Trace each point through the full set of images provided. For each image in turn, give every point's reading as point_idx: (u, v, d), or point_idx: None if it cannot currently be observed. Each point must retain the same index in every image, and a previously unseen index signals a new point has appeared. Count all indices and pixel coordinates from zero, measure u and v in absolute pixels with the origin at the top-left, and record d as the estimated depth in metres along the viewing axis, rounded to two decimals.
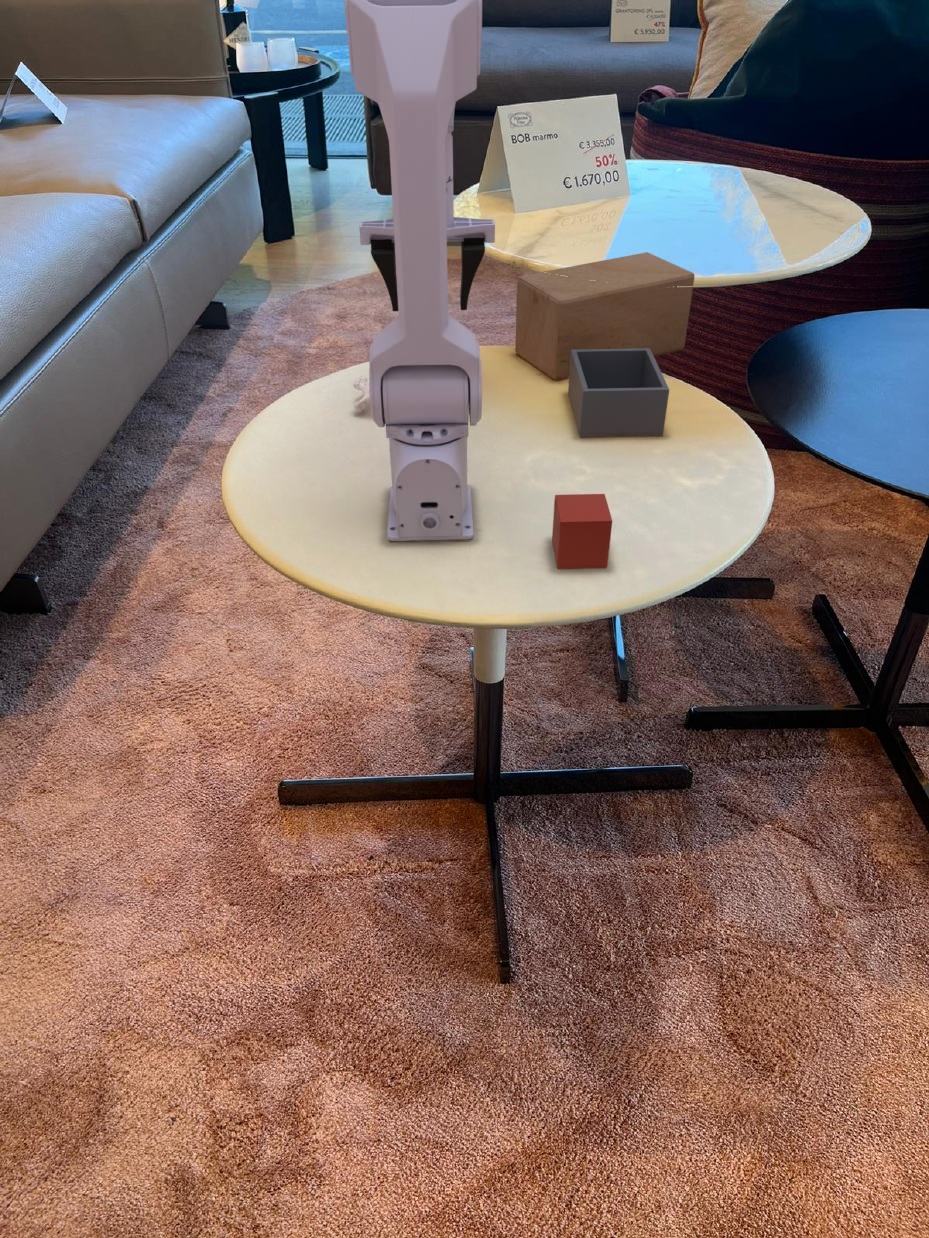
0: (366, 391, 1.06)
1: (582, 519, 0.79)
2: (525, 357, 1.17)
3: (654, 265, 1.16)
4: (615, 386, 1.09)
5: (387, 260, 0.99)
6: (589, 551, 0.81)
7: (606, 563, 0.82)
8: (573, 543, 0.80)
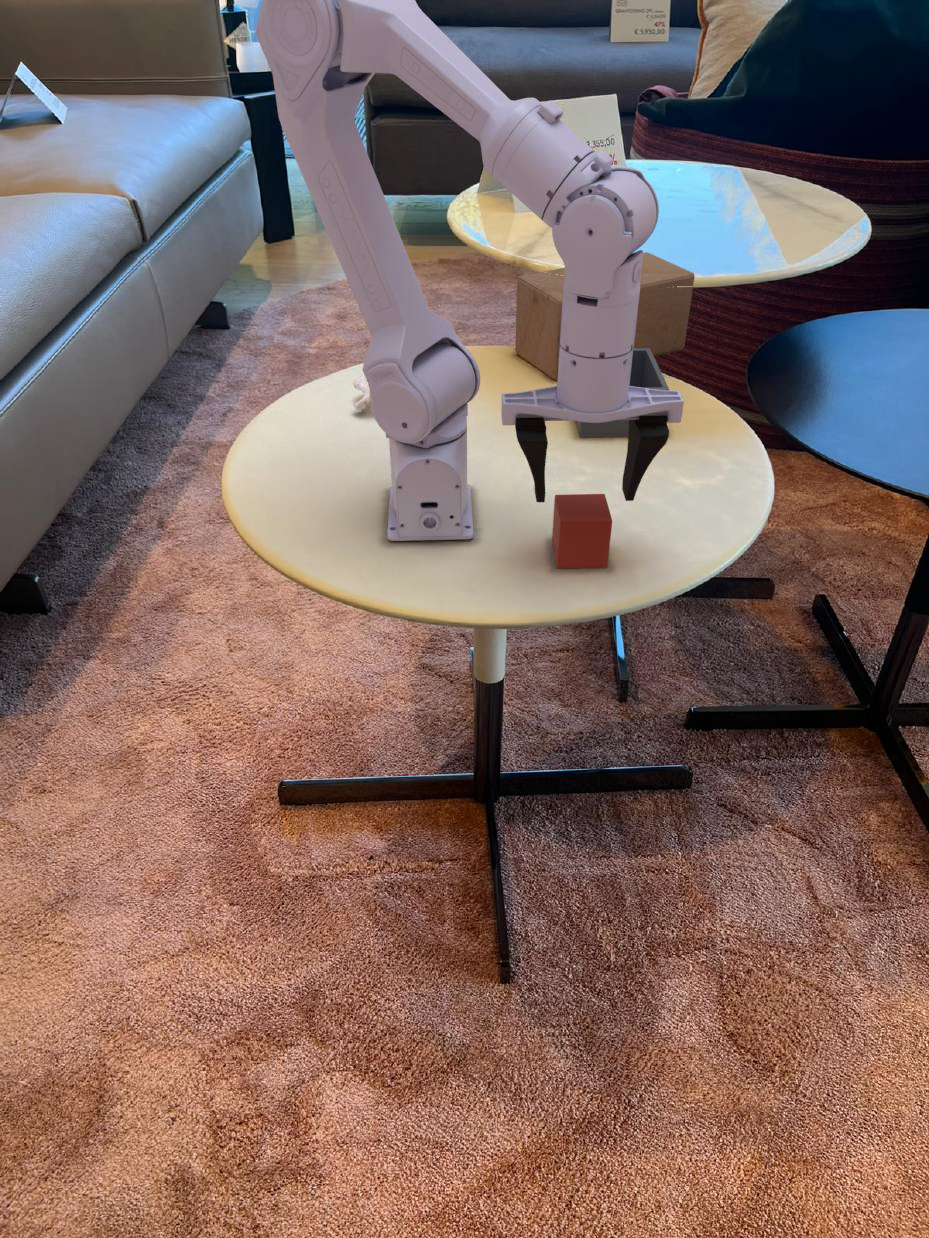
0: (366, 391, 1.06)
1: (582, 519, 0.79)
2: (525, 357, 1.17)
3: (654, 265, 1.16)
4: None
5: (538, 447, 0.74)
6: (589, 551, 0.81)
7: (606, 563, 0.82)
8: (573, 543, 0.80)
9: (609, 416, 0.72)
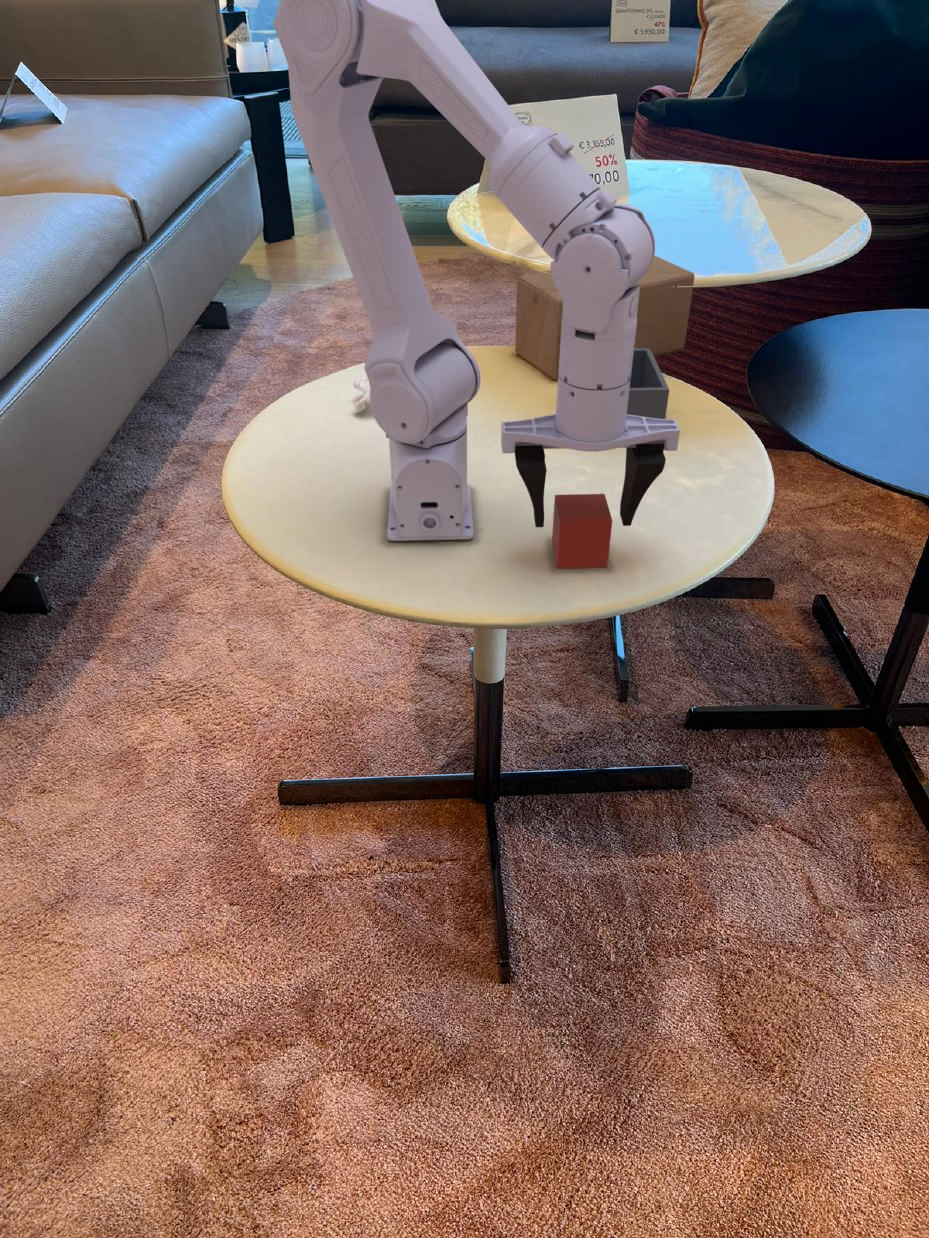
0: (366, 391, 1.06)
1: (582, 519, 0.79)
2: (525, 357, 1.17)
3: (654, 265, 1.16)
4: None
5: (537, 474, 0.76)
6: (589, 551, 0.81)
7: (606, 563, 0.82)
8: (573, 543, 0.80)
9: (606, 445, 0.74)
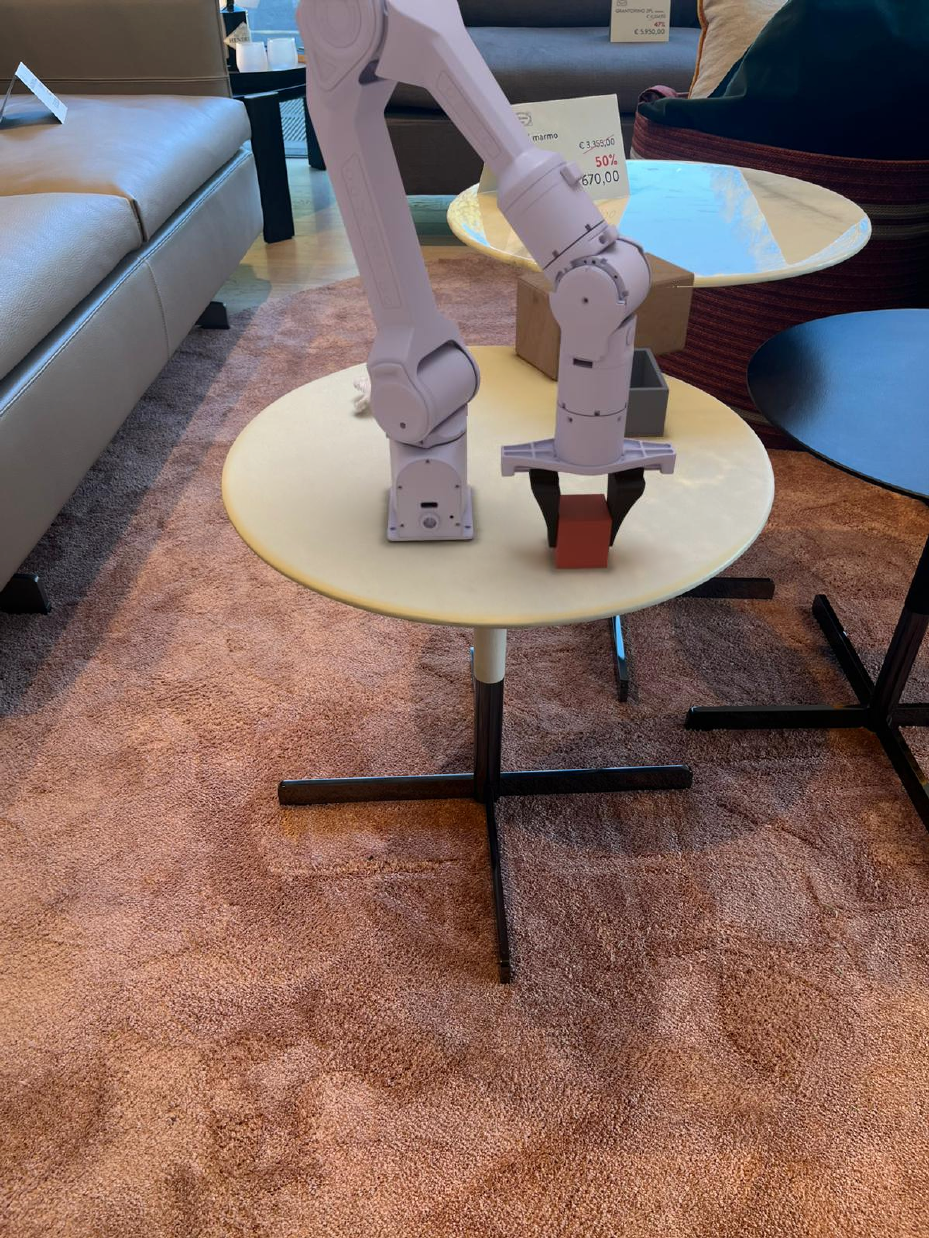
0: (366, 391, 1.06)
1: (581, 519, 0.79)
2: (525, 357, 1.17)
3: (654, 265, 1.16)
4: None
5: (552, 497, 0.77)
6: (588, 551, 0.81)
7: (606, 563, 0.82)
8: (573, 543, 0.80)
9: (604, 469, 0.75)
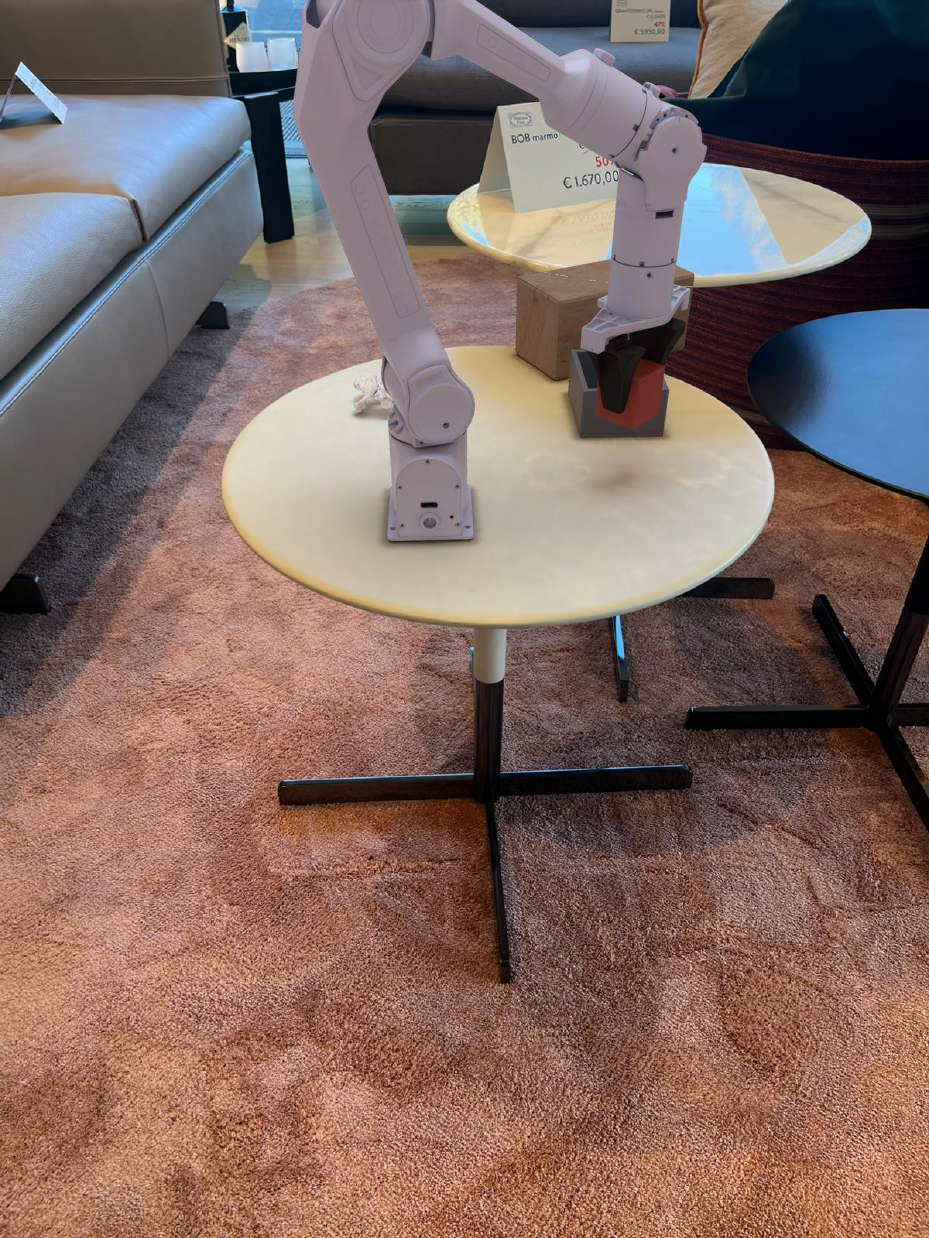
0: (366, 391, 1.06)
1: (648, 373, 0.86)
2: (525, 357, 1.17)
3: None
4: None
5: (638, 357, 0.82)
6: (651, 402, 0.88)
7: None
8: (644, 399, 0.87)
9: (671, 314, 0.83)
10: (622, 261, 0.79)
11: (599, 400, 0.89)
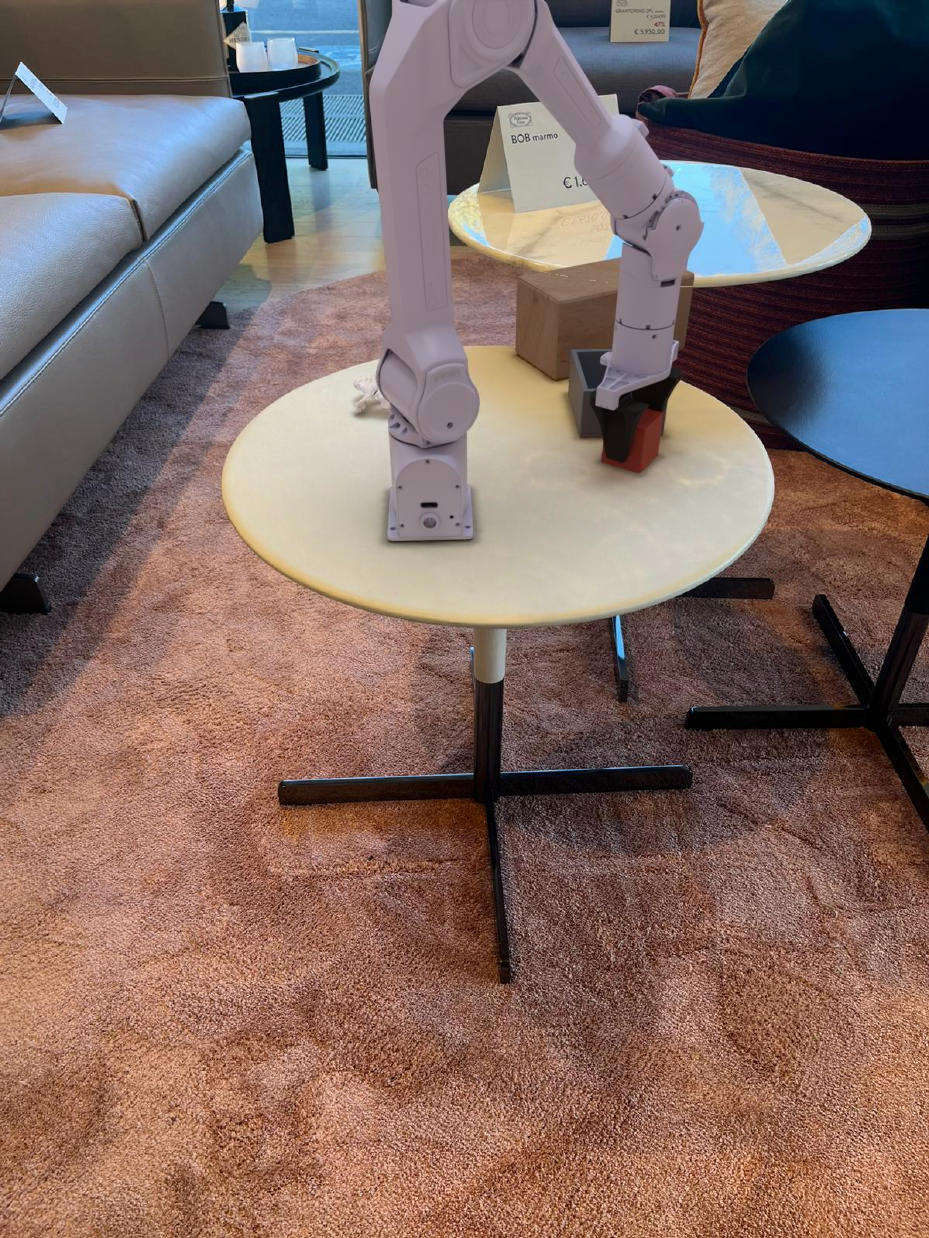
0: (366, 391, 1.06)
1: (650, 421, 0.93)
2: (525, 357, 1.17)
3: None
4: None
5: (642, 412, 0.89)
6: (653, 446, 0.96)
7: None
8: (648, 445, 0.94)
9: (670, 369, 0.91)
10: (629, 325, 0.87)
11: None
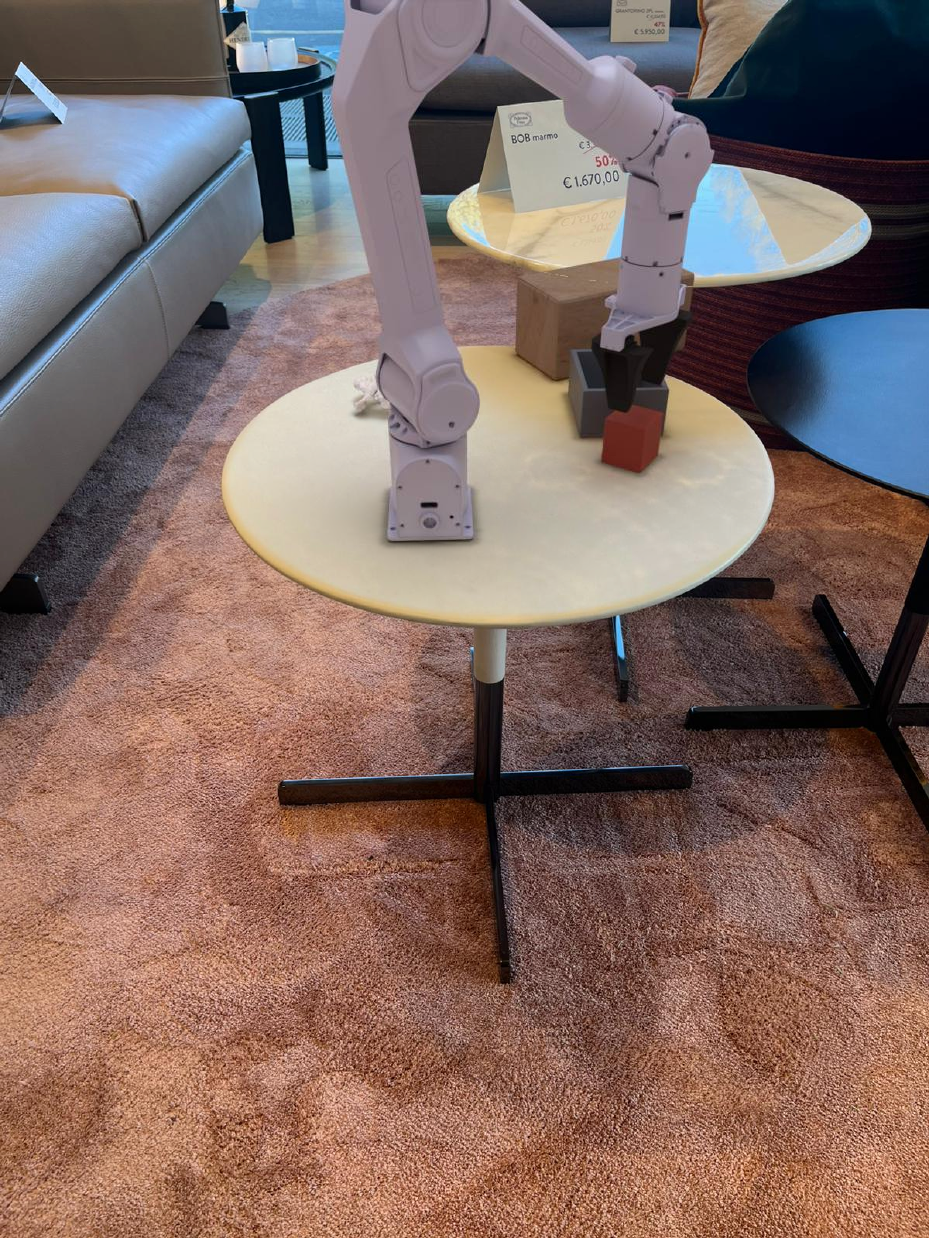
0: (366, 391, 1.06)
1: (650, 421, 0.93)
2: (525, 357, 1.17)
3: None
4: None
5: (646, 357, 0.86)
6: (653, 446, 0.96)
7: None
8: (648, 445, 0.94)
9: (678, 310, 0.87)
10: (635, 262, 0.83)
11: (605, 448, 0.96)
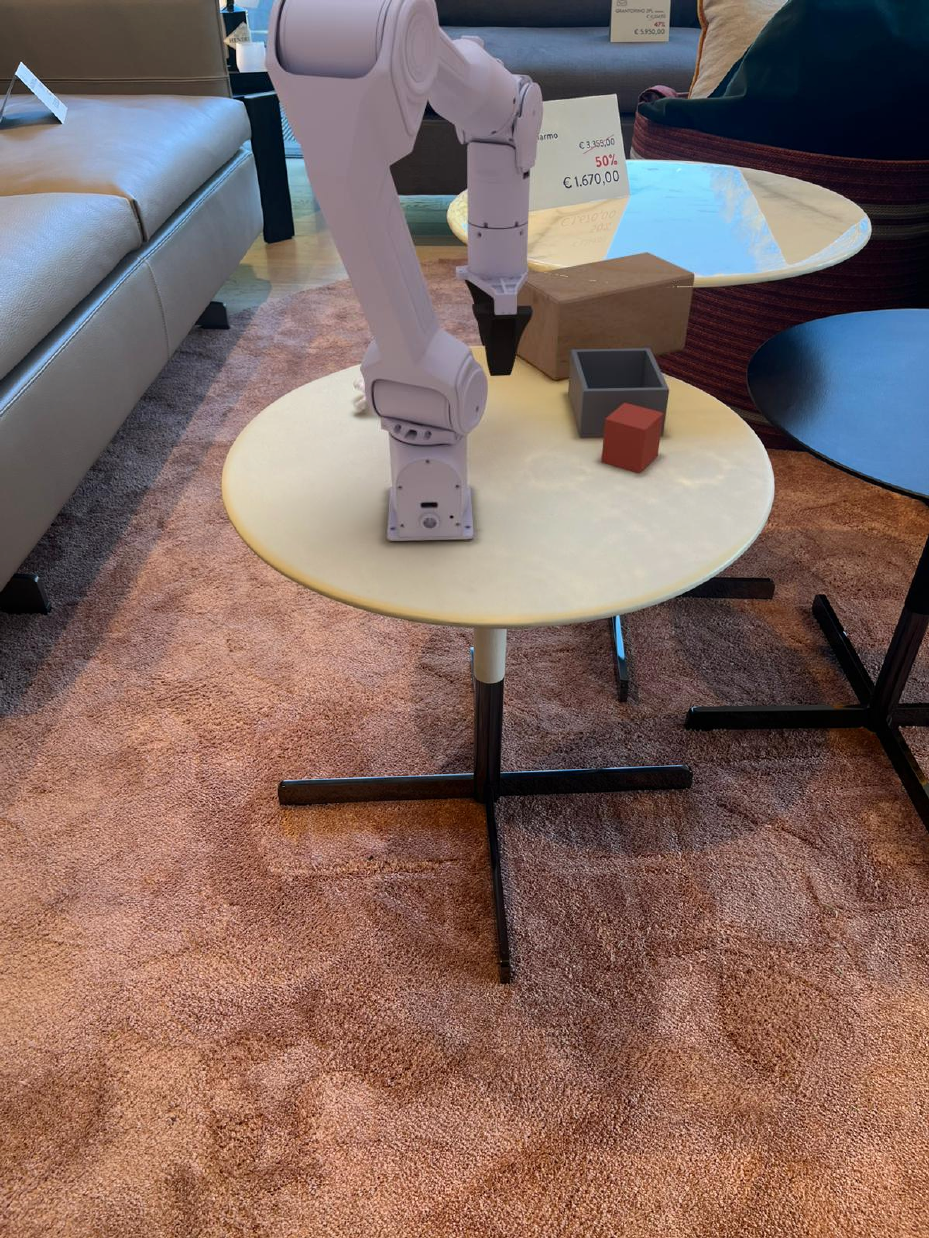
0: None
1: (651, 421, 0.93)
2: (525, 357, 1.17)
3: (654, 265, 1.16)
4: (615, 386, 1.09)
5: None
6: (653, 446, 0.96)
7: None
8: (648, 445, 0.94)
9: None
10: (497, 226, 0.84)
11: (605, 448, 0.96)
